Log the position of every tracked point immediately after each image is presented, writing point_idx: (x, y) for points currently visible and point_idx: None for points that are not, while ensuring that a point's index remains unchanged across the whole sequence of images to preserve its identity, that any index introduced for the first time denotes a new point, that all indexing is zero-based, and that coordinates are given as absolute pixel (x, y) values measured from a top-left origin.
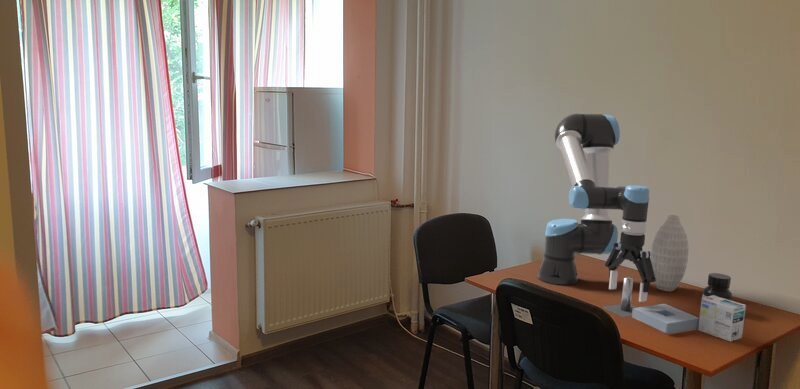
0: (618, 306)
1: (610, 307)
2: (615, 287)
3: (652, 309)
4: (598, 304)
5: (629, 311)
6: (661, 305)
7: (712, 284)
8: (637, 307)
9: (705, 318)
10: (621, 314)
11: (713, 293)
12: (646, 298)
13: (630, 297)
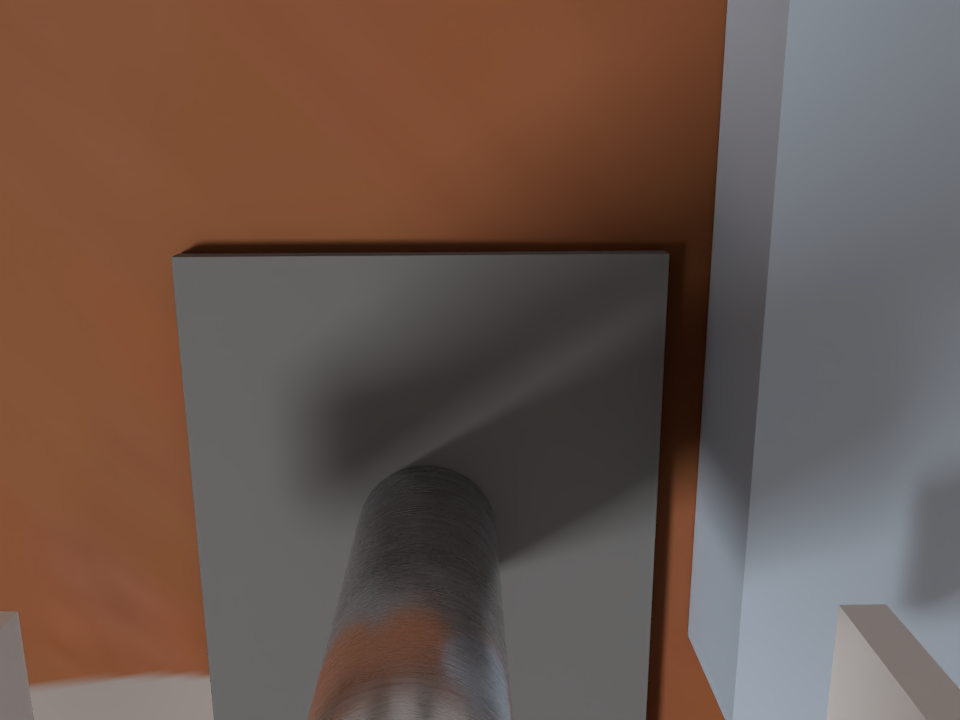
0: (272, 524)
1: (273, 660)
2: (6, 655)
3: (916, 469)
4: (68, 679)
5: (504, 520)
6: (847, 130)
7: None
8: (401, 263)
9: None
10: (560, 708)
11: None
12: (912, 649)
13: (504, 643)
